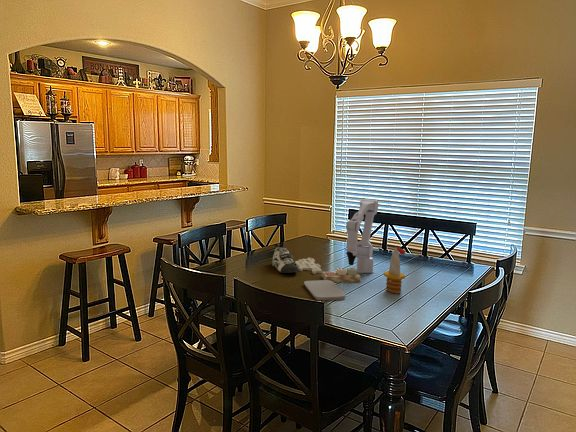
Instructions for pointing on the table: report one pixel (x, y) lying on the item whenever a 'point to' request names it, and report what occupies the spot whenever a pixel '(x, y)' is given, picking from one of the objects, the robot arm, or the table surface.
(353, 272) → the button
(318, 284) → the tablet
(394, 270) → the toy
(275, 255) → the training shoe
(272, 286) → the table surface
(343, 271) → the cream studded block
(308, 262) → the decorative sign
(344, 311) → the table surface
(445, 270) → the table surface
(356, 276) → the button board
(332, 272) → the button
